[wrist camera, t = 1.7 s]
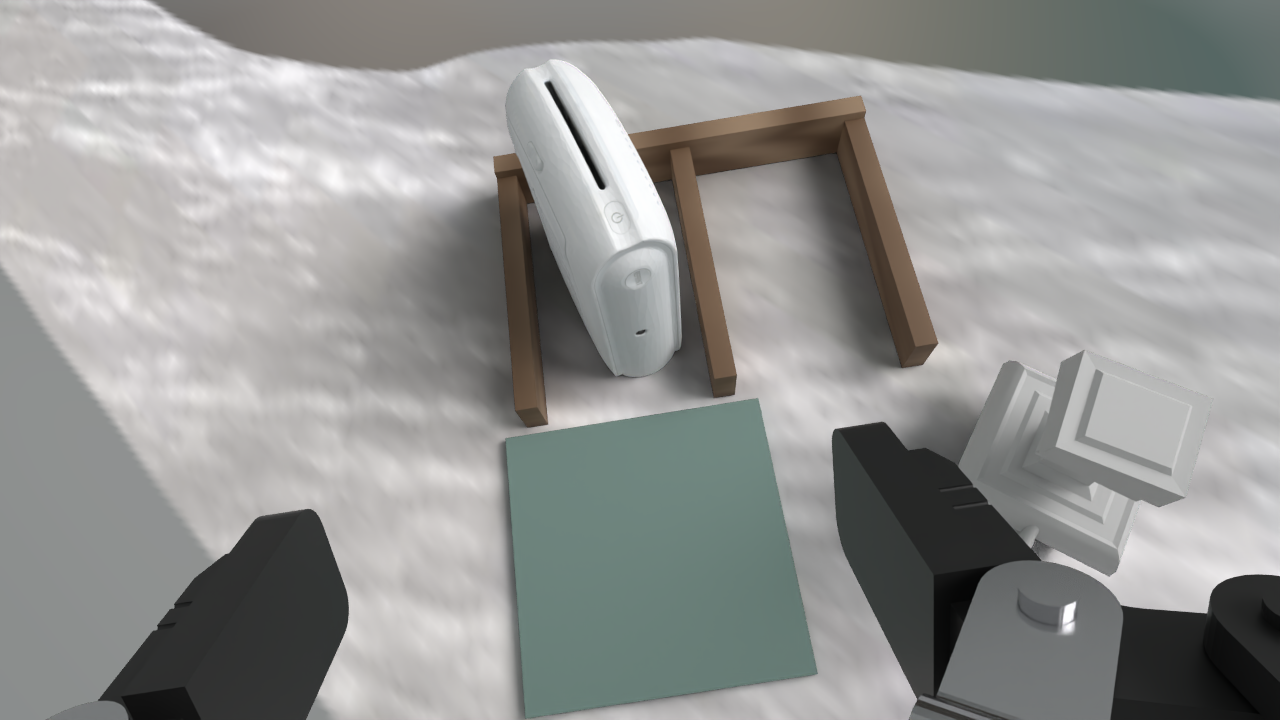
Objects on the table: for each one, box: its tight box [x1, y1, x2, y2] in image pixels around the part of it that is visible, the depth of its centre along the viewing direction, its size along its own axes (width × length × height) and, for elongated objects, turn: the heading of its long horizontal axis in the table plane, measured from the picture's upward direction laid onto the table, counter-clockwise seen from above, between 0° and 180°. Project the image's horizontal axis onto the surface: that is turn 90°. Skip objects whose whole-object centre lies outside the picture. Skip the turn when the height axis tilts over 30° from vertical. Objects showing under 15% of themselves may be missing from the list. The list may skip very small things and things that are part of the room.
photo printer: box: [505, 60, 682, 377], centre depth 33 cm, size 10×4×12 cm, turn 24°
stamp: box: [958, 350, 1213, 577], centre depth 29 cm, size 9×7×8 cm
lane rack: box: [493, 96, 938, 428], centre depth 37 cm, size 19×14×3 cm
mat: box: [505, 398, 818, 719], centre depth 33 cm, size 12×12×1 cm
